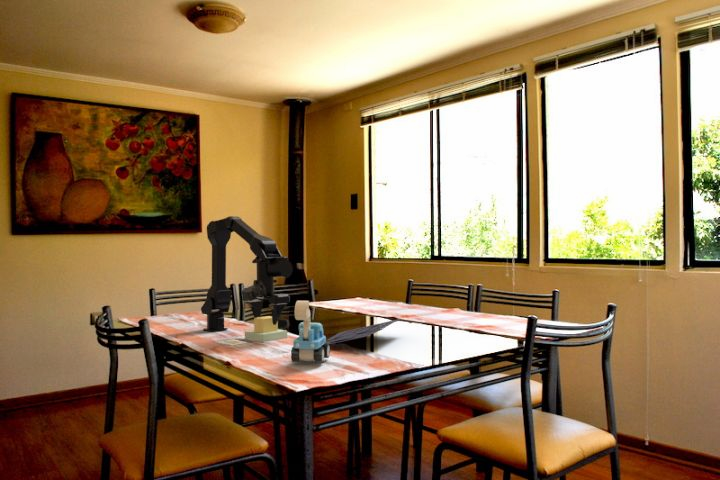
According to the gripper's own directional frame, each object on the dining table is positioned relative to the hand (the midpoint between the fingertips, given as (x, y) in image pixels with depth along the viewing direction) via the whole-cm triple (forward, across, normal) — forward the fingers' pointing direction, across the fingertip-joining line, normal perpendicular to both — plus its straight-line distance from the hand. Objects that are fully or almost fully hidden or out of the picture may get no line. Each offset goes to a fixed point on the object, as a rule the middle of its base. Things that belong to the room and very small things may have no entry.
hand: (265, 323), depth 182 cm
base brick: (+6, 0, 0) cm, 6 cm away
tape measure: (+5, -6, +14) cm, 16 cm away
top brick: (+3, 0, 0) cm, 3 cm away
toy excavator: (+5, +38, -16) cm, 42 cm away
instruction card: (+5, -2, -12) cm, 13 cm away
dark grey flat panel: (+6, +26, +16) cm, 32 cm away
